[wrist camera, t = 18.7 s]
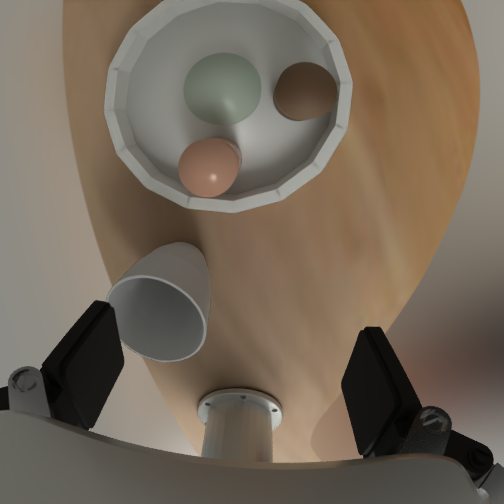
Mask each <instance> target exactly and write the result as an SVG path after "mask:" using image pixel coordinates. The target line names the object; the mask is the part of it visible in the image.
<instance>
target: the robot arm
mask: <svg viewBox="0 0 504 504" xmlns="http://www.w3.org/2000/svg"><path fill="white" fill-rule="evenodd" d="M123 366H124V356H123V351H122V346H121V342H120V337H119V331H118V326H117V321H116V315H115V309H114V307H111V305H110V303H109V302H104V301H98V300H96V301H94V302H93V303H92V304H91V305H90V307H89V308H88V309H87V310H86V311H85V313H84V314H83V315H82V316H81V317H80V318H79V319H78V321H77V322H76V323H75V324H74V325H73V327H72V328H71V329H70V330H69V331H68V333H67V334H66V335H65V336H64V337H63V338H62V340H61V341H60V342H59V344H58V345H57V346H56V347H55V348H54V350H53V351H52V352H51V354H50V355H49V356H48V357H47V359H46V360H45V361H44V362H43V364H42V368H41V369H40V370H38V369H37V368H34V367H30V366H26V367H21V368H19V369H17V370H15V371H14V372H13V373H12V374H11V375H10V378H9V380H8V386H6V387H2V388H0V504H504V467H502V466H501V465H500V464H499V463H496V464H495V465H494V464H493V460H494V459H493V454H492V452H491V451H490V449H489V448H488V447H487V446H485V445H483V444H482V443H479V442H477V441H475V440H473V439H471V438H468V437H466V436H464V435H462V434H460V433H458V432H456V431H454V430H451V428H452V422H451V418H450V417H449V415H448V414H447V413H446V412H445V411H444V410H443V409H441V408H439V407H435V406H426V407H422V405H421V403H420V401H419V399H418V397H417V395H416V393H415V391H414V389H413V387H412V385H411V383H410V381H409V379H408V377H407V375H406V373H405V371H404V369H403V367H402V365H401V363H400V361H399V360H398V358H397V356H396V354H395V352H394V350H393V348H392V347H391V345H390V343H389V341H388V339H387V338H386V336H385V334H384V332H383V330H382V329H381V327H365V328H364V330H361V331H360V332H359V335H358V338H357V341H356V343H355V346H354V349H353V352H352V355H351V357H350V360H349V363H348V365H347V368H346V371H345V373H344V376H343V378H342V382H341V388H342V392H343V395H344V399H345V403H346V406H347V410H348V413H349V417H350V421H351V425H352V428H353V433H354V437H355V441H356V444H357V449H358V452H359V454H360V455H363V459H352V460H341V461H327V462H307V463H273V440H272V430H274V429H275V428H277V427H278V426H279V425H280V423H281V421H282V417H283V415H282V408H281V406H280V404H279V403H278V402H277V401H276V400H275V399H274V398H272V397H270V396H269V395H267V394H264V393H262V392H259V391H255V390H251V389H242V388H231V389H223V390H218V391H215V392H212V393H210V394H208V395H206V396H205V397H204V398H203V399H202V400H201V401H200V403H199V406H198V417H199V419H200V420H201V422H202V423H203V424H204V425H205V426H206V428H205V435H204V441H203V447H202V454H201V457H198V456H191V455H185V454H179V453H173V452H167V451H163V450H158V449H153V448H149V447H144V446H139V445H136V444H132V443H128V442H124V441H120V440H117V439H114V438H110V437H107V436H104V435H100V434H97V433H94V432H91V431H88V430H89V428H93V427H94V425H95V423H96V421H97V419H98V417H99V415H100V413H101V410H102V408H103V406H104V404H105V402H106V400H107V398H108V396H109V394H110V392H111V390H112V388H113V386H114V384H115V382H116V380H117V378H118V376H119V374H120V372H121V370H122V368H123Z"/></svg>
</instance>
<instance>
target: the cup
mask: <svg viewBox="0 0 504 504" xmlns="http://www.w3.org/2000/svg"><path fill="white" fill-rule="evenodd" d="M105 302H109V303H110V305H111V307H114V309H115V315H116V321H117V326H118V331H119V337H120V341H121V342H122V343H123V344H124V345H125V346H126V347H128V348H129V349H130V350H132V351H133V352H135V353H137V354H139V355H141V356H143V357H145V358H148V359H151V360H155V361H160V362H177V361H181V360H185V359H187V358H189V357H191V356H193V355H194V354H196V353H197V352H198V351H199V350H200V348H201V347H202V345H203V343H204V341H205V338H206V332H207V325H208V318H209V311H210V304H211V288H210V273H209V269H208V266H207V263H206V260H205V258H204V256H203V254H202V253H201V251H200V250H199V249H198V248H196V247H195V246H193V245H192V244H189V243H186V242H174V243H171V244H167V245H163V246H161V247H159V248H157V249H155V250H154V251H152V252H151V253H149V254H148V255H146V256H145V257H143V258H142V259H140V260H139V261H137V262H136V263H135V264H134V265H133V266H132V267H131V268H130V269H129V270H128V271H127V272H126V273H125V274H124V275H123V276H122V277H121V278H120V279H119V281H118V282H117V283H116V284H115V285H114V286H113V287H112V288H111V289H110V291H109V293H108V295H107V297H106V301H105Z"/></svg>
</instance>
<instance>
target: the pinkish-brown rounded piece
mask: <svg viewBox="0 0 504 504" xmlns="http://www.w3.org/2000/svg"><path fill="white" fill-rule="evenodd" d="M241 165H242V154H241V151H240V149H239V147H238V146H237V144H236V143H235V142H233V141H232V140H230V139H228V138H225V137H213V138H207V139H202V140H198V141H196V142H194V143H192V144H190V145H189V146H188V147H187V148H186V149H185V150H184V152H183V153H182V155H181V157H180V160H179V164H178V172H179V177H180V179H181V182H182V183H183V185H184V186H185V187H186V188H187V189H188V190H189V191H190V192H191V193H193V194H195V195H197V196H201V197H215V196H218V195H220V194H222V193H224V192H225V191H227V190H228V189H229V188H230V186H231V185H232V184H233V182H234V180H235V178H236V176H237V174H238V172H239V170H240V168H241Z"/></svg>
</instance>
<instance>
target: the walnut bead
mask: <svg viewBox="0 0 504 504" xmlns="http://www.w3.org/2000/svg"><path fill="white" fill-rule="evenodd" d="M337 94H338V91H337V85H336V82H335V80H334V78H333V76H332V75H331V74H330V73H329V72H328V71H327V70H326V69H325V68H323V67H322V66H320V65H318V64H315V63H311V62H299V63H295V64H293V65H291V66H289V67H288V68H286V69H285V70H284V71H283V72H282V74H281V75H280V77H279V79H278V82H277V85H276V87H275V90H274V93H273V103H274V106H275V108H276V110H277V111H278V112H279V113H280V114H281V115H282V116H283V117H285V118H287V119H289V120H292V121H303V120H309V119H314V118H318V117H321V116H323V115H325V114H327V113H328V112H329V111H330V110H331V109H332V108H333V106H334V105H335V103H336V100H337Z"/></svg>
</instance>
